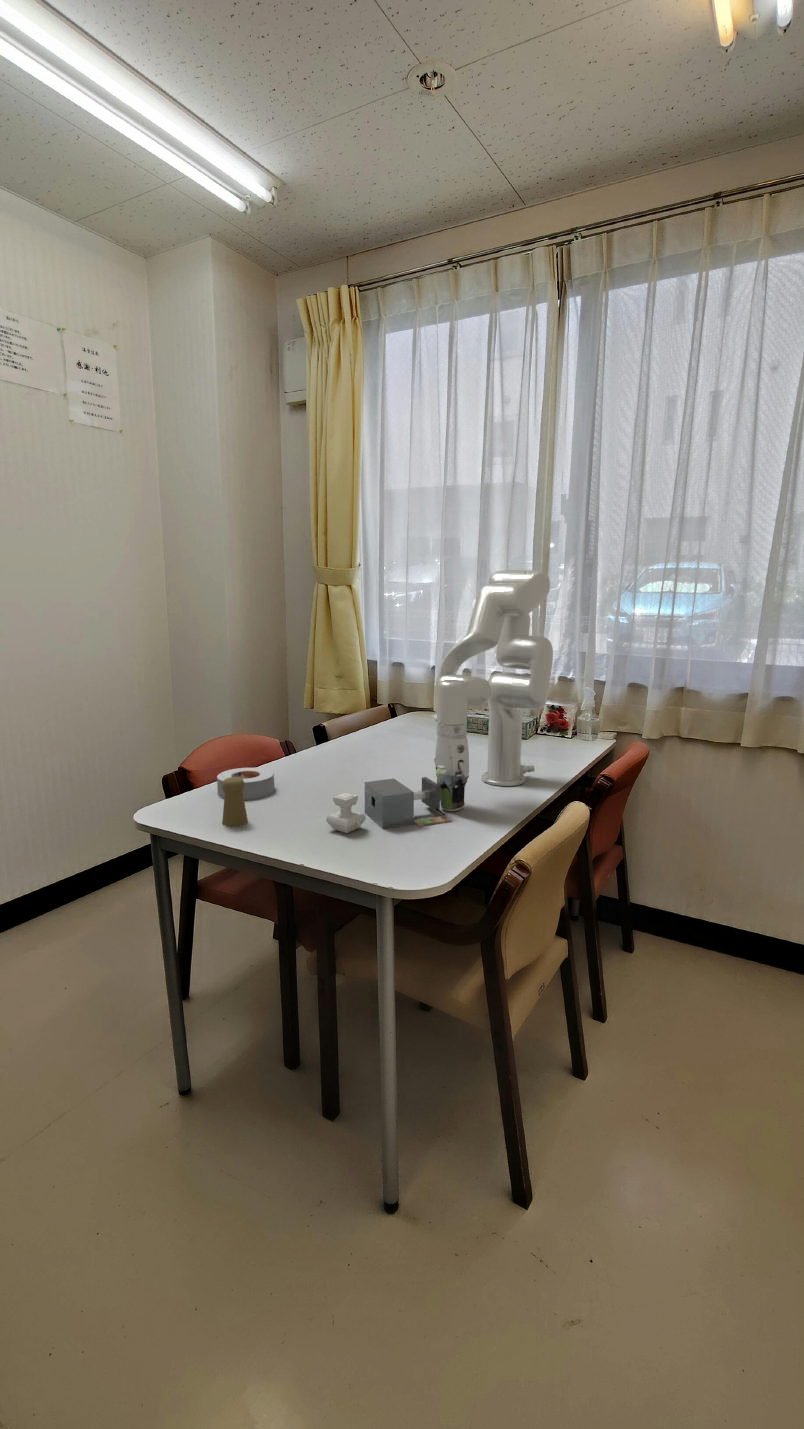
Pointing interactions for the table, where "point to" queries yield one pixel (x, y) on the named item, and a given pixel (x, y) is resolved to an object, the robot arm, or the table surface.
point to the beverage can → (447, 790)
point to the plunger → (429, 794)
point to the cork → (234, 802)
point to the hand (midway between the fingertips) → (450, 796)
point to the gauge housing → (389, 803)
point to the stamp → (345, 814)
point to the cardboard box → (432, 821)
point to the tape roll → (250, 782)
